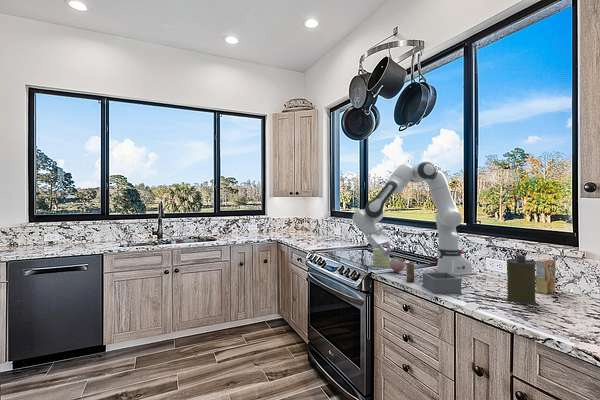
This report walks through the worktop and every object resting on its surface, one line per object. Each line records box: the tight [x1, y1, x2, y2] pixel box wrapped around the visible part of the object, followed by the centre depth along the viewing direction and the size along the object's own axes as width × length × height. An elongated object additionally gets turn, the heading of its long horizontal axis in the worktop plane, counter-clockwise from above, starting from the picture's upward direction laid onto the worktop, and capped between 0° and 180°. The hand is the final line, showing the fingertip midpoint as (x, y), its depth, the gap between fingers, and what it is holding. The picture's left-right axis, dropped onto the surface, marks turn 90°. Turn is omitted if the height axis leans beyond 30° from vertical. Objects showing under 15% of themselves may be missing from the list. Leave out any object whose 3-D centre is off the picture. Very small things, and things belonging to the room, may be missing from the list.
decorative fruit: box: [389, 256, 406, 273], centre depth 190 cm, size 9×8×10 cm
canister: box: [506, 254, 537, 305], centre depth 136 cm, size 11×10×20 cm
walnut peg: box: [406, 262, 415, 284], centre depth 169 cm, size 4×4×10 cm
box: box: [372, 247, 391, 268], centre depth 208 cm, size 10×6×12 cm, turn 84°
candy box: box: [535, 258, 556, 295], centre depth 148 cm, size 9×4×15 cm, turn 116°
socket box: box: [422, 271, 462, 295], centre depth 153 cm, size 13×13×7 cm
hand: (388, 250), depth 176 cm, fingers open, 8 cm apart
